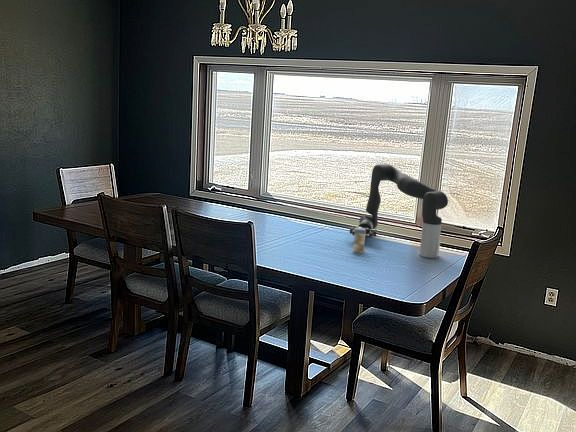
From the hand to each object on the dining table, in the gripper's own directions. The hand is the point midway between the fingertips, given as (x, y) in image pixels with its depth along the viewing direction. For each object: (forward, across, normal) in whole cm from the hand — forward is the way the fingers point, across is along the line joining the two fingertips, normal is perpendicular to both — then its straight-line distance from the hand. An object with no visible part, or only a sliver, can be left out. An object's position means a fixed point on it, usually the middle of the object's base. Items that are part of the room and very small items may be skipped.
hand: (361, 234), depth 310 cm
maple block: (+11, 0, +6) cm, 13 cm away
